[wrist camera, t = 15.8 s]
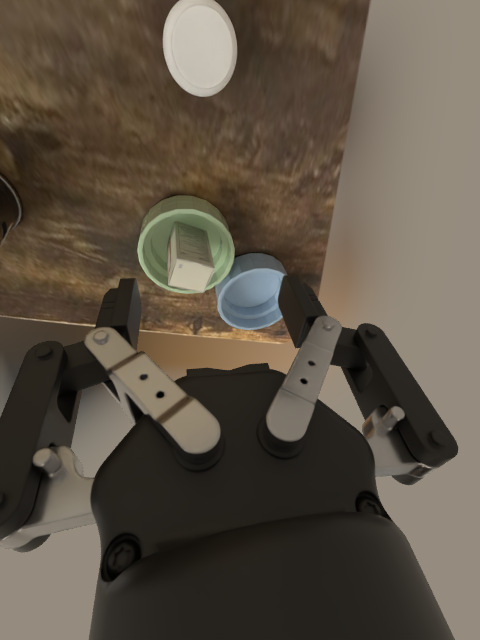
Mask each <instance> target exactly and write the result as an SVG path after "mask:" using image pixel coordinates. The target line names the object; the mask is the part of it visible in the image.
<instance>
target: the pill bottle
mask: <svg viewBox="0 0 480 640" xmlns="http://www.w3.org/2000/svg"><path fill="white" fill-rule="evenodd" d="M163 51H164V57H165V60H166V63H167V66H168V69H169V71H170V73H171V75H172V76H173V78H174V79H175V81H176V82H177V83H178V84H179V85H180V86H181V87H182V88H183V89H184V90H185V91H187V92H189V93H190V94H193V95H196V96H200V97H207V96H212V95H214V94H216V93H218V92H219V91H221V90H222V89H223V88H224V87H225V86H226V85H227V83H228V82H229V80H230V79H231V77H232V74H233V72H234V69H235V65H236V60H237V41H236V35H235V31H234V28H233V25H232V23H231V21H230V19H229V17H228V15H227V14H226V12H225V11H224V9H223V8H222V7H221V6H220V5H219V4H218V3H217V2H215V1H214V0H179V1H178V2H177V3H176V4H175V5H174V6H173V8H172V9H171V11H170V13H169V15H168V17H167V19H166V22H165V26H164V31H163Z"/></svg>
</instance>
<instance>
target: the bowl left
mask: <svg viewBox="0 0 480 640" xmlns="http://www.w3.org/2000/svg"><path fill="white" fill-rule="evenodd" d="M174 222H179V223H183V224H186V225H189V226H193V227H196V228H199V229H202V230H205V231H207V235H208V239H209V244H210V248H211V253H212V257H213V262H214V266H215V270H214V273H213V275H212V277H211V279H210V281H209V283H208V285H207V287H206V289H205V290H208V289H211V288H212V287H214V286H215V285H217V284H219V283H220V282H221V281H222V280H223V279H224V278H225V277H226V276H227V274H228V273H229V271H230V269H231V267H232V264H233V262H234V252H235V247H234V244H233V240H232V237H231V234H230V230H229V227H228V224H227V221H226V220H225V218H224V217H223V215H222V214H221V212H220V211H219V210H218V209H217V208H216V207H214V206H213V205H212V204H210V203H209V202H208V201H206V200H203V199H200V198H197V197H194V196H180V195H177V196H173V197H170V198H167V199H164V200H161V201H160V202H159V203H157V204H156V205H155V206H153V207H152V208H151V209H150V210H149V211H148V213H147V215H146V216H145V218H144V220H143V222H142V227H141V232H140V238H139V243H138V249H137V251H138V256H139V262H140V264H141V266H142V268H143V270H144V271H145V273H146V275H147V276H148V277H149V278H150V279H151V280H153V281H154V282H155V283H156V284H157V285H159V286H161V287H163V288H165V289H167V290H169V291H173V292H178V293H182V294H187V293H199V292H195V291H190V290H186V289H181V288H177V287H173V286H169V285H168V247H167V245H168V241H169V238H170V234H171V231H172V228H173V225H174Z"/></svg>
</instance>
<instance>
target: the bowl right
mask: <svg viewBox="0 0 480 640" xmlns="http://www.w3.org/2000/svg"><path fill="white" fill-rule="evenodd" d="M284 275H288V273H287V271H286V270H285V268H284V266H283V265H282V263H281V262H280V261H278V260H277V259H276V258H274V257H273V256H270V255H267V254H263V253H249V254H245V255H242V256H239V257H236V258H235V259H234V262H233V264H232V267H231V269H230V271H229V273H228V274H227V276H226V277H225V278H224V279H223V280H222V281H221V282H220V283H219V284H217V285H215V296H216V302H217V308H218V311H219V313H220V316H221V318H222V319H223V320H224V321H225V322H226V323H227V324H229V325H231V326H233V327H235V328H238V329H244V330H254V329H261V328H264V327H268V326H270V325H272V324H274V323H275V322H277V321H279V320H280V319H281V318H282V317H283V316H282V314H281V311H280V309H279V306H278V295H279V291H280V287H281V282H282V278H283V276H284Z"/></svg>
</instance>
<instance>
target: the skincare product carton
mask: <svg viewBox="0 0 480 640" xmlns="http://www.w3.org/2000/svg"><path fill="white" fill-rule="evenodd" d="M167 247H168V285H169V286H173V287H177V288H181V289H186V290H190V291H195V292H201V293H204V291H205V289H206V287H207V285H208V283H209V281H210V279H211V277H212V275H213V273H214V270H215V266H214V262H213V257H212V253H211V248H210V244H209V239H208V235H207V231H205V230H202V229H199V228H196V227H193V226H189V225H186V224H183V223H179V222H174V225H173V228H172V231H171V234H170V238H169V241H168V245H167Z"/></svg>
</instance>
